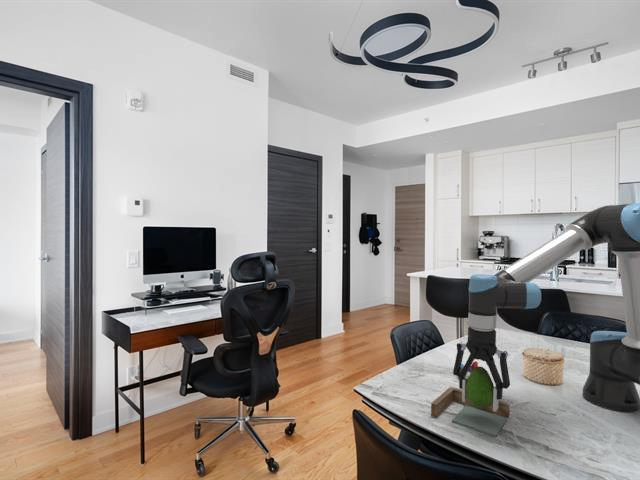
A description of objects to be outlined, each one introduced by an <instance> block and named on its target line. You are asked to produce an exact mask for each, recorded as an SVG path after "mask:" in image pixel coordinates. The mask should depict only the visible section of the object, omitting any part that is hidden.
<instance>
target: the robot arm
mask: <svg viewBox="0 0 640 480" xmlns="http://www.w3.org/2000/svg"><path fill="white" fill-rule="evenodd" d="M606 243H608V244H609V245H610V252H611V253H612V254H613V255H615V256H617V258H618V267H619V273H620V274H619V275H620V283H621V285H620V286H621V292H622V301H623V311H624V318H625V328H626V331H625V332H623V331H614V330H613V331H612V330H596V331H593V332H592V333H591V334H590V341H589V372H588V373H589V374H588V376H587V379H586V381H585V383H584V384H583V387H582V395H581V396H582V397H583V398H584V400H586V401H587V402H590V403H591V404H594V405H596V406H598V407H602V408H605V409H608V410H612V411H617V412H623V413H625V412H626V413H635V412H639V411H640V395H639V393H638V389H637V386H636V384H637V385H638V386H640V202H632V203H623V204H611V205H604V206H600V207H598V208H596V209H593V210H591V211H589V212H588V213H586V214H584V215H582V216H581V217H578V219H576V220H574V221H573V222H571V223H569V224H568V225H567V226H566V227H565V230H563V232H561V233H560V234H558V235H557V236H555V237H553V238H552V239H550V240H549V241H547V242H545V243H543V244H541V245H540V246H539V247H537V248H535V249H534V250H533V251H531V252H529V253H527V254H526V255H524V256H523V257H521V258H520V259H518V260H516V261H515V262H513V263H511V264H510V265H509V266H507V267H505V268H504V269H502V270H500V271H498V272H497V273H496V274H481V273H479V274H473V275H471V276H470V277H469V283H468V317H467V318H468V319H467V320H468V321H467V325H468V328H467V341H466V342H462V341H459V342H458V343H457V344H456V350H457V353H456V355H455V360H454V367H453V371H452V374H453V376H456V377H458V379H459V383H458V386H459V387H458V389H461V390H462V402H465V401H466V400H467V399H468V398H467V394H466V383H467V380H468V378H467V377H465V376H466V374H467V372H468V370H469V368H470V367H471V365H472V364H473V362H475V360H481V361H482V362H485V364H486V365H487V366H488V369H489V372H490V374H491V376H492V379H493V380H492V381H493V383H494V384H495V385H494V389H493V411H495V412H496V411H497V409H498V401H499V400H500V401H502V399H503V391H504V389H505V390H507V389H509V387H510V386H511V381H510V374H509V367H508V361H507V359H508V354H509V352H508V351H507V350H500V349H498V347H497V345H496V344H497V330H496V328H497V315H498V314H497V313H498V309H523V310H528V309H536V308H538V307H539V306H540V304H541V302H542V291H541V288H540V287H539V286H538V284H536V283H534V282H531V281H533V280H535V279H536V278H538V277H540V276H541V275H543V274H544V273H546V272H548V271H549V270H551V269H552V268H553V269H554V268H555V267H556V266H558V265H559V264H561V263H562V262H564V261H565V260H567V259H569V258H571V257H572V256H574V255H575V254H577V253H579V252H580V251H582V250H584V251H585V250H586V251H588V250H590V249H591V248H593V247H595V246H598V245H601V244H606ZM466 349H467V350H468V352H469V356H468V358H467V360H466V362H465V364H464V367H463V369H462V371H460V368H461V363H462V362H463V357H464V354H465V350H466ZM495 355H497V358H498V359H499V367H500V372H501V373H499V371H498V370H499V369H498V368H497V365H496V362H495V359H494V356H495ZM462 364H463V363H462ZM500 375H501V376H500Z"/></svg>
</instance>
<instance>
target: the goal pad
mask: <svg viewBox="0 0 640 480" xmlns="http://www.w3.org/2000/svg"><path fill="white" fill-rule="evenodd" d="M507 421H508V418H505V417H502V416H499V415H496V414H492V413H489V412H486V411H483V410H479V409H476V408H473V407H470V406H466V405H464V406H463V407H462V409H461V410H460V411H458V413H457V414H456V415H455V416H454V417H453V419H452V420H451V423H452V424H455V425H456V424H457V425H459V426H463V427H465V428H468V429H471V430H473V431H477V432H480V433H483V434H484V435H485V434H486V435H488V436H491V437H494V438H497V437H498V435H499V433H500V432H501V430H502V429H503V428H504V425H505V424H506V423H507Z"/></svg>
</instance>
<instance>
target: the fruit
mask: <svg viewBox="0 0 640 480" xmlns="http://www.w3.org/2000/svg"><path fill="white" fill-rule="evenodd" d="M494 387H495V385H494V381H493V380H492V378H491V376H490V374H489V372H488V371H487V369H486V368H484V366H479V365H478V366H477V367H475V368H474V369H473V370H472V371H471V374H470V376H469V378H468V380H467V383H466V394H467V398H468V400H469V402H470V403H471V404H472V405H473V406H475V407H477V408H485V407H488V406H489V405H490V404H491V403H492V402H493V389H494Z"/></svg>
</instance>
